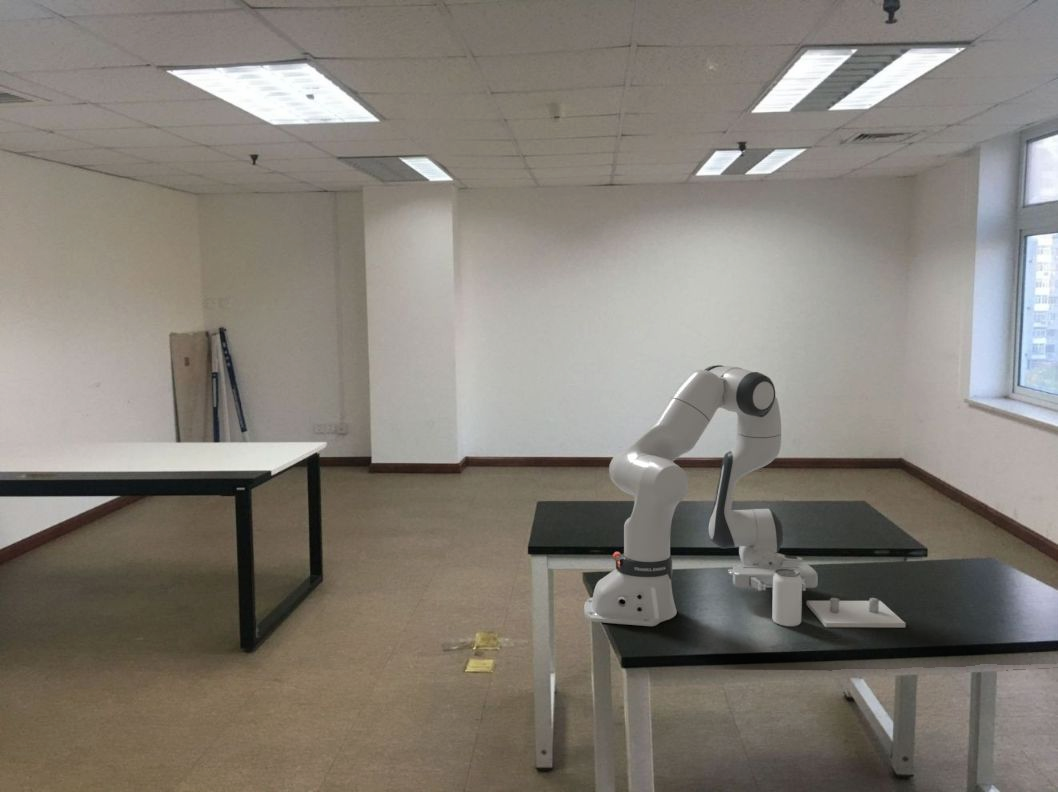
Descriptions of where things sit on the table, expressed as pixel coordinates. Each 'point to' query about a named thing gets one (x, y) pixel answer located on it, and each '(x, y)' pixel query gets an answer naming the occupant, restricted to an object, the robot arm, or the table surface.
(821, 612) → the pin plate
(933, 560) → the table surface
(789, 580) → the can
